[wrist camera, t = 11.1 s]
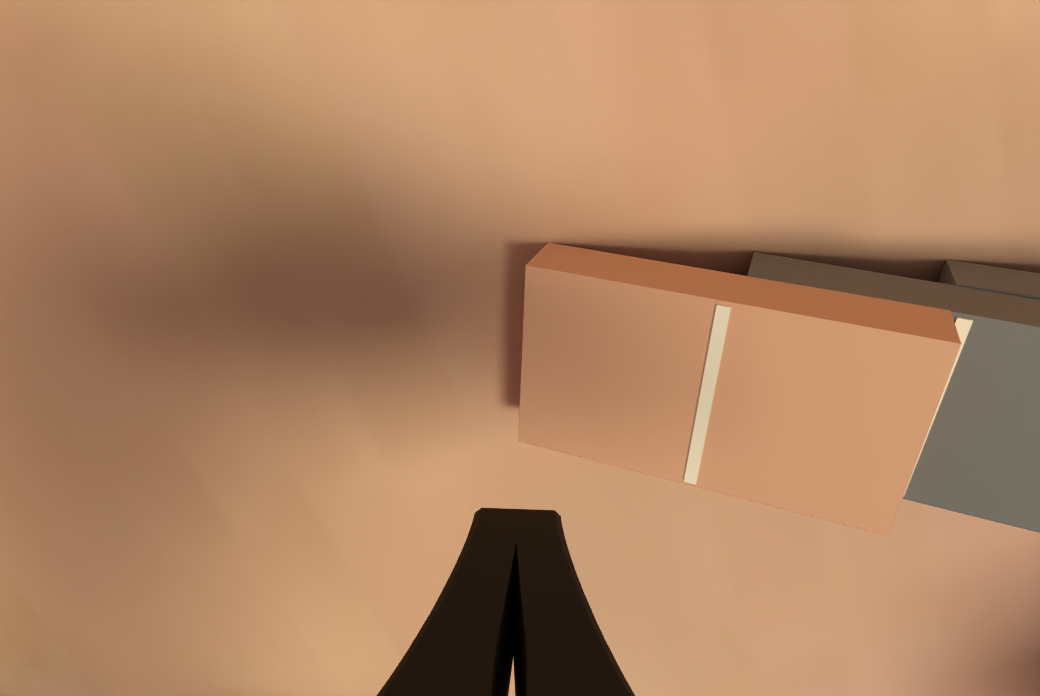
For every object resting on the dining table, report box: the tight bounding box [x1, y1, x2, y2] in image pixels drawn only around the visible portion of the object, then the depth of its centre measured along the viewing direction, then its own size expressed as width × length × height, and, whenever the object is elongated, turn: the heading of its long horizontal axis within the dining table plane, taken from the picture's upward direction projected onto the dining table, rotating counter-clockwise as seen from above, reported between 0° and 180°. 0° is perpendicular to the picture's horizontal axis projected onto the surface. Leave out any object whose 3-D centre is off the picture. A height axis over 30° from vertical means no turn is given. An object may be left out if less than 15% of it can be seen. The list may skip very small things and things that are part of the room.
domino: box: [747, 252, 1040, 533], centre depth 17 cm, size 5×2×9 cm
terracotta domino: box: [518, 243, 961, 536], centre depth 17 cm, size 5×2×9 cm
